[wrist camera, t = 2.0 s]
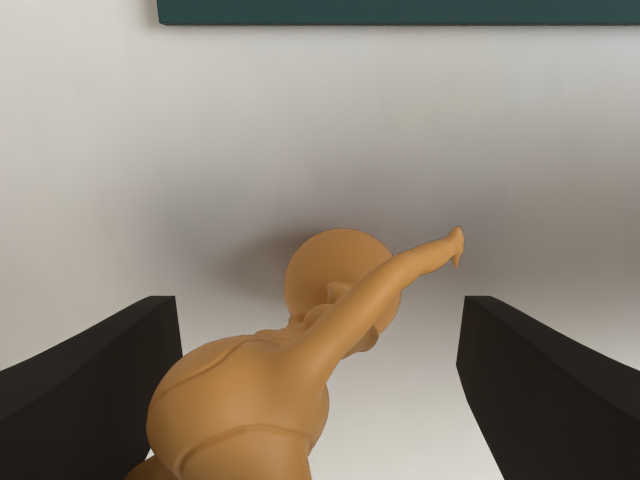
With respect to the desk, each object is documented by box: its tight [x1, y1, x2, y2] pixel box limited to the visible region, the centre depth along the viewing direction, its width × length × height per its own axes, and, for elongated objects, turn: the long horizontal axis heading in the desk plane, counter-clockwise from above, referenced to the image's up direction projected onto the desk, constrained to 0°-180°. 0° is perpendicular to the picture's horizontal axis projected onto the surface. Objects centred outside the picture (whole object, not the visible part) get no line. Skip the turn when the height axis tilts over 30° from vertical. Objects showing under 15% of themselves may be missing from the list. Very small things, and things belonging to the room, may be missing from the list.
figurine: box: [124, 226, 465, 480], centre depth 11 cm, size 8×6×12 cm
